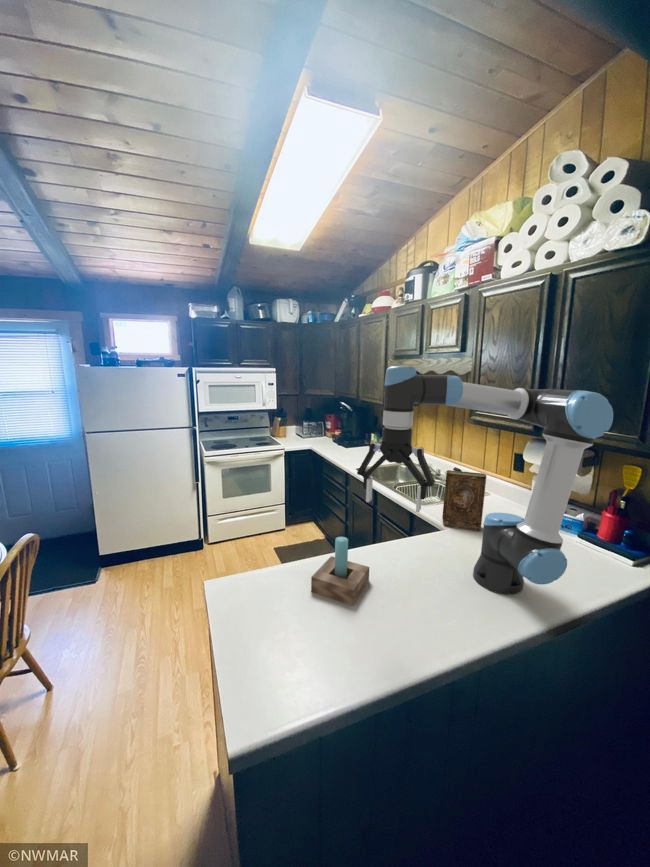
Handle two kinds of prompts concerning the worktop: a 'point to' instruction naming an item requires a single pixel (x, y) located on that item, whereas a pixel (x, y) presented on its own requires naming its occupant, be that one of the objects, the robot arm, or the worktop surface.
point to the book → (464, 500)
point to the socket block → (340, 581)
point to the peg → (341, 557)
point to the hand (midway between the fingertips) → (392, 505)
